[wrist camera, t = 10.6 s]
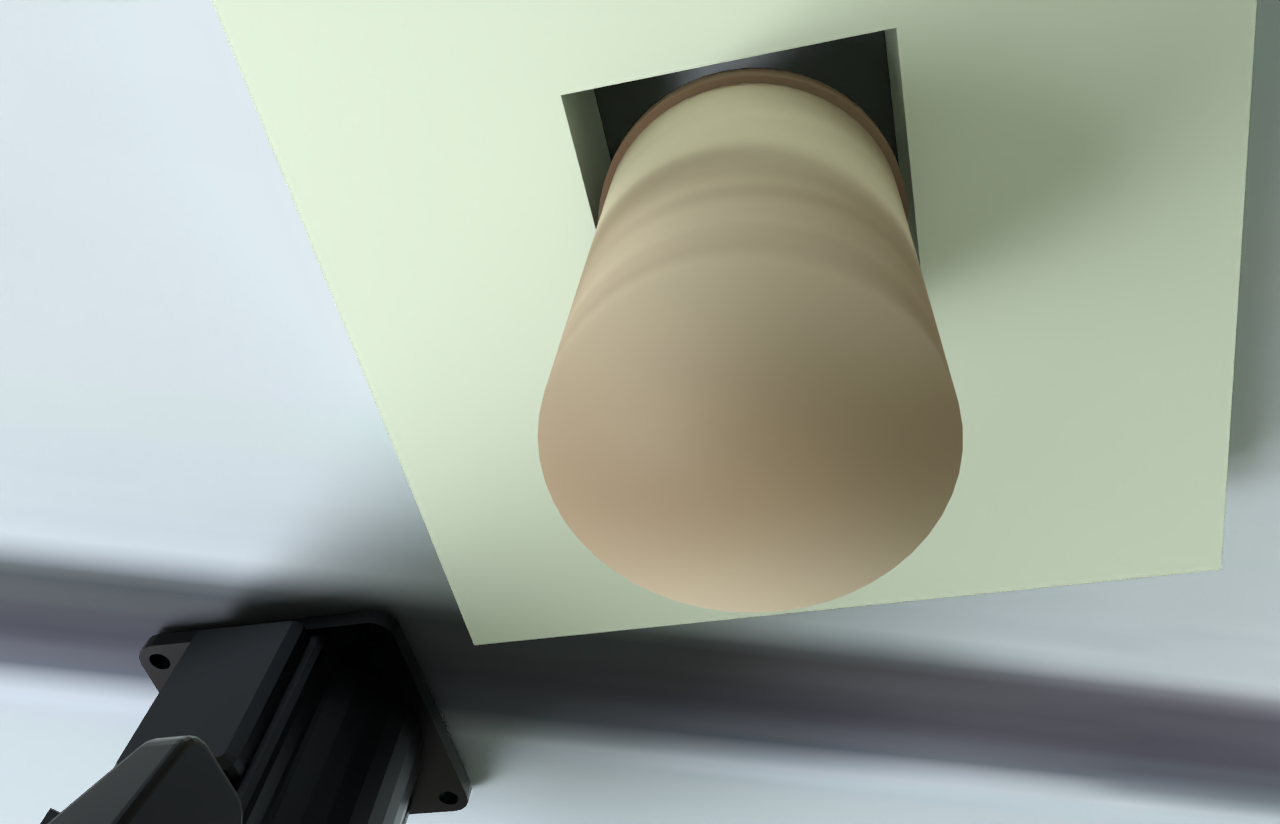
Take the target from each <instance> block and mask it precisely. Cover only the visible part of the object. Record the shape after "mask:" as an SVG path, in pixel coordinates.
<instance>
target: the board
mask: <svg viewBox="0 0 1280 824" xmlns="http://www.w3.org/2000/svg"><path fill="white" fill-rule="evenodd" d="M212 2H213V5H214V7H215V10H216V12H217V15H218V17H219V19H220V22H221V24H222V27H223V29H224V32H225V34H226V37H227V39H228V42H229V44H230V46H231V49H232V51H233V54H234V56H235V59H236V61H237V64H238V66H239V69H240V71H241V73H242V76H243V78H244V81H245V83H246V86H247V88H248V91H249V93H250V96H251V98H252V101H253V103H254V105H255V108H256V110H257V113H258V115H259V118H260V120H261V123H262V125H263V128H264V130H265V132H266V135H267V137H268V140H269V142H270V145H271V147H272V150H273V152H274V155H275V157H276V159H277V162H278V164H279V167H280V169H281V172H282V174H283V177H284V179H285V182H286V184H287V187H288V189H289V191H290V194H291V196H292V199H293V201H294V204H295V206H296V209H297V211H298V214H299V216H300V218H301V221H302V223H303V226H304V228H305V231H306V233H307V236H308V238H309V241H310V243H311V245H312V248H313V250H314V253H315V255H316V258H317V260H318V263H319V265H320V268H321V270H322V273H323V275H324V277H325V280H326V282H327V285H328V287H329V290H330V292H331V295H332V297H333V300H334V302H335V304H336V307H337V309H338V312H339V314H340V317H341V319H342V322H343V324H344V327H345V329H346V331H347V334H348V336H349V339H350V341H351V344H352V346H353V349H354V351H355V354H356V356H357V359H358V361H359V363H360V366H361V368H362V371H363V373H364V376H365V378H366V381H367V383H368V386H369V388H370V390H371V393H372V395H373V398H374V400H375V403H376V405H377V408H378V410H379V413H380V415H381V417H382V420H383V422H384V425H385V427H386V430H387V432H388V435H389V437H390V440H391V442H392V445H393V447H394V449H395V452H396V454H397V457H398V459H399V462H400V464H401V467H402V469H403V472H404V474H405V476H406V479H407V481H408V484H409V486H410V489H411V491H412V494H413V496H414V499H415V501H416V503H417V506H418V508H419V511H420V513H421V516H422V518H423V521H424V523H425V526H426V528H427V531H428V533H429V535H430V538H431V540H432V543H433V545H434V548H435V550H436V553H437V555H438V558H439V560H440V562H441V565H442V567H443V570H444V572H445V575H446V577H447V580H448V582H449V585H450V587H451V589H452V592H453V594H454V597H455V599H456V602H457V604H458V607H459V609H460V612H461V614H462V617H463V619H464V621H465V624H466V626H467V629H468V631H469V634H470V636H471V639H472V641H473V644H474V645H482V644H492V643H501V642H511V641H521V640H531V639H541V638H551V637H561V636H571V635H580V634H590V633H600V632H610V631H620V630H630V629H640V628H650V627H659V626H669V625H679V624H689V623H699V622H709V621H719V620H729V619H738V618H748V617H758V616H768V615H778V614H788V613H798V612H808V611H817V610H827V609H837V608H847V607H857V606H867V605H877V604H887V603H896V602H906V601H916V600H926V599H936V598H946V597H956V596H966V595H975V594H985V593H995V592H1005V591H1015V590H1025V589H1035V588H1045V587H1054V586H1064V585H1074V584H1084V583H1094V582H1104V581H1114V580H1124V579H1133V578H1143V577H1153V576H1163V575H1173V574H1183V573H1193V572H1203V571H1212V570H1221V565H1222V549H1223V533H1224V517H1225V501H1226V485H1227V469H1228V454H1229V438H1230V422H1231V406H1232V390H1233V374H1234V358H1235V342H1236V326H1237V310H1238V294H1239V279H1240V263H1241V247H1242V231H1243V215H1244V199H1245V183H1246V167H1247V151H1248V135H1249V119H1250V104H1251V88H1252V72H1253V56H1254V40H1255V24H1256V8H1257V0H212ZM882 30H885V39H886V49H887V58H888V68H889V77H890V87H891V96H892V105H893V115H894V124H895V134H896V143H897V153H898V162H899V169H900V172H901V175H902V179H903V182H904V186H905V191H906V197H907V202H908V226H909V229H910V233H911V237H912V240H913V244H914V247H915V251H916V254H917V258H918V261H919V265H920V268H921V272H922V275H923V279H924V282H925V286H926V289H927V293H928V297H929V300H930V304H931V307H932V311H933V314H934V318H935V321H936V325H937V328H938V332H939V335H940V339H941V342H942V346H943V349H944V353H945V356H946V360H947V364H948V367H949V371H950V374H951V378H952V381H953V385H954V388H955V392H956V395H957V399H958V402H959V408H960V414H961V420H962V425H963V452H962V459H961V465H960V471H959V475H958V479H957V482H956V485H955V488H954V491H953V494H952V496H951V498H950V500H949V502H948V504H947V506H946V508H945V510H944V512H943V514H942V516H941V518H940V519H939V521H938V522H937V523H936V525H935V526H934V528H933V529H932V531H931V532H930V534H929V535H928V536H927V537H926V538H925V539H924V541H923V542H922V543H921V544H920V545H919V546H918V547H917V548H916V549H915V550H914V551H913V552H912V553H911V554H910V555H909V556H908V557H907V558H905V559H904V560H903V561H902V562H901V563H900V564H898V565H897V566H896V567H895V568H894V569H892V570H890V571H889V572H887V573H886V574H884V575H883V576H881V577H880V578H878V579H877V580H875V581H874V582H872V583H870V584H868V585H866V586H864V587H862V588H860V589H858V590H856V591H854V592H852V593H849V594H847V595H844V596H841V597H839V598H836V599H833V600H831V601H828V602H824V603H820V604H816V605H812V606H808V607H805V608H799V609H792V610H786V611H779V612H760V613H746V612H727V611H720V610H713V609H706V608H701V607H697V606H693V605H689V604H685V603H681V602H678V601H675V600H672V599H669V598H666V597H664V596H661V595H658V594H655V593H653V592H651V591H649V590H647V589H645V588H643V587H641V586H639V585H637V584H635V583H633V582H631V581H630V580H628V579H626V578H625V577H623V576H622V575H620V574H618V573H617V572H615V571H614V570H612V569H611V568H610V567H608V566H607V565H606V564H605V563H603V562H602V561H601V560H600V559H598V558H597V557H596V556H595V555H594V554H593V553H592V552H591V551H590V550H589V549H588V548H587V547H586V546H585V545H584V544H583V543H582V542H581V541H580V540H579V539H578V538H577V537H576V535H575V534H574V533H573V532H572V530H571V529H570V528H569V526H568V525H567V524H566V523H565V521H564V519H563V518H562V516H561V514H560V513H559V511H558V509H557V507H556V506H555V504H554V502H553V500H552V497H551V495H550V493H549V490H548V488H547V485H546V483H545V480H544V476H543V472H542V468H541V464H540V459H539V448H538V422H539V413H540V408H541V404H542V399H543V395H544V391H545V388H546V385H547V382H548V378H549V375H550V372H551V369H552V366H553V363H554V360H555V357H556V353H557V350H558V347H559V344H560V341H561V338H562V335H563V332H564V328H565V325H566V322H567V319H568V316H569V313H570V310H571V307H572V303H573V300H574V297H575V294H576V291H577V288H578V285H579V282H580V278H581V275H582V272H583V269H584V266H585V263H586V260H587V256H588V253H589V250H590V247H591V244H592V241H593V238H594V235H595V231H596V228H597V225H598V215H599V204H600V198H601V193H602V189H603V185H604V181H605V178H606V175H607V172H608V170H609V167H610V164H611V158H610V154H609V150H608V146H607V142H606V138H605V134H604V130H603V126H602V121H601V117H600V113H599V109H598V105H597V101H596V97H595V93H594V88H599V87H604V86H609V85H614V84H619V83H624V82H629V81H634V80H639V79H644V78H649V77H654V76H659V75H664V74H669V73H674V72H679V71H684V70H689V69H694V68H699V67H704V66H709V65H714V64H718V63H723V62H728V61H733V60H738V59H743V58H748V57H753V56H758V55H763V54H768V53H773V52H778V51H783V50H788V49H793V48H798V47H803V46H808V45H813V44H818V43H823V42H828V41H833V40H838V39H843V38H847V37H852V36H857V35H862V34H867V33H872V32H877V31H882Z"/></svg>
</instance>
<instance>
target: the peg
mask: <svg viewBox="0 0 1280 824" xmlns="http://www.w3.org/2000/svg"><path fill="white" fill-rule="evenodd" d="M538 448H539V459H540V464H541V468H542V472H543V476H544V480H545V483H546V485H547V488H548V490H549V493H550V495H551V497H552V500H553V502H554V504H555V506H556V507H557V509H558V511H559V513H560V514H561V516H562V518H563V519H564V521H565V523H566V524H567V525H568V526H569V528H570V529H571V530H572V532H573V533H574V534H575V535H576V537H577V538H578V539H579V540H580V541H581V542H582V543H583V544H584V545H585V546H586V547H587V548H588V549H589V550H590V551H591V552H592V553H593V554H594V555H595V556H596V557H597V558H598V559H600V560H601V561H602V562H603V563H605V564H606V565H607V566H608V567H610V568H611V569H612V570H614V571H615V572H617V573H618V574H620V575H622V576H623V577H625V578H626V579H628V580H630V581H631V582H633V583H635V584H637V585H639V586H641V587H643V588H645V589H647V590H649V591H651V592H653V593H655V594H658V595H661V596H664V597H666V598H669V599H672V600H675V601H678V602H681V603H685V604H689V605H693V606H697V607H701V608H706V609H713V610H720V611H727V612H746V613H760V612H779V611H786V610H792V609H799V608H805V607H808V606H812V605H816V604H820V603H824V602H828V601H831V600H833V599H836V598H839V597H841V596H844V595H847V594H849V593H852V592H854V591H856V590H858V589H860V588H862V587H864V586H866V585H868V584H870V583H872V582H874V581H875V580H877V579H878V578H880V577H881V576H883V575H884V574H886V573H887V572H889V571H890V570H892V569H894V568H895V567H896V566H897V565H898V564H900V563H901V562H902V561H903V560H904V559H905V558H907V557H908V556H909V555H910V554H911V553H912V552H913V551H914V550H915V549H916V548H917V547H918V546H919V545H920V544H921V543H922V542H923V541H924V539H925V538H926V537H927V536H928V535H929V534H930V532H931V531H932V529H933V528H934V526H935V525H936V523H937V522H938V521H939V519H940V518H941V516H942V514H943V512H944V510H945V508H946V506H947V504H948V502H949V500H950V498H951V496H952V494H953V491H954V488H955V485H956V482H957V479H958V475H959V471H960V465H961V459H962V452H963V425H962V420H961V414H960V408H959V402H958V399H957V395H956V392H955V388H954V385H953V381H952V378H951V374H950V371H949V367H948V364H947V360H946V356H945V353H944V349H943V346H942V342H941V339H940V335H939V332H938V328H937V325H936V321H935V318H934V314H933V311H932V307H931V304H930V300H929V297H928V293H927V289H926V286H925V282H924V279H923V275H922V272H921V268H920V265H919V261H918V258H917V254H916V251H915V247H914V244H913V240H912V237H911V233H910V229H909V226H908V202H907V197H906V191H905V186H904V182H903V179H902V175H901V172H900V169H899V166H898V163H897V160H896V157H895V155H894V153H893V151H892V149H891V147H890V145H889V143H888V141H887V139H886V138H885V136H884V135H883V133H882V132H881V131H880V129H879V128H878V126H877V125H876V123H875V122H874V121H873V120H872V119H871V118H870V117H869V116H868V115H867V114H866V113H865V112H864V111H863V109H862V108H860V107H859V106H858V105H857V104H855V103H854V102H853V101H852V100H850V99H849V98H848V97H847V96H845V95H844V94H842V93H841V92H839V91H837V90H835V89H834V88H832V87H830V86H829V85H827V84H825V83H822V82H820V81H818V80H815V79H813V78H810V77H808V76H804V75H801V74H797V73H793V72H790V71H784V70H777V69H769V68H743V69H735V70H728V71H722V72H718V73H715V74H711V75H707V76H703V77H701V78H699V79H696V80H694V81H691V82H689V83H687V84H684V85H682V86H681V87H679V88H677V89H675V90H674V91H672V92H670V93H669V94H667V95H665V96H664V97H663V98H661V99H660V100H659V101H658V102H656V103H655V104H654V105H652V106H651V107H650V108H649V109H648V110H647V111H646V112H645V113H644V114H643V115H642V116H641V117H640V118H639V119H638V120H637V121H636V122H635V123H634V125H633V126H632V127H631V129H630V130H629V131H628V133H627V134H626V135H625V137H624V138H623V140H622V142H621V143H620V145H619V147H618V149H617V151H616V153H615V154H614V157H613V159H612V162H611V164H610V167H609V170H608V172H607V175H606V178H605V181H604V185H603V189H602V193H601V198H600V204H599V215H598V225H597V228H596V231H595V235H594V238H593V241H592V244H591V247H590V250H589V253H588V256H587V260H586V263H585V266H584V269H583V272H582V275H581V278H580V282H579V285H578V288H577V291H576V294H575V297H574V300H573V303H572V307H571V310H570V313H569V316H568V319H567V322H566V325H565V328H564V332H563V335H562V338H561V341H560V344H559V347H558V350H557V353H556V357H555V360H554V363H553V366H552V369H551V372H550V375H549V378H548V382H547V385H546V388H545V391H544V395H543V399H542V404H541V408H540V413H539V422H538Z"/></svg>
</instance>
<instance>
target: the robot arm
mask: <svg viewBox="0 0 1280 824" xmlns="http://www.w3.org/2000/svg"><path fill="white" fill-rule="evenodd" d="M372 631H376V632H378V633H380V634H382V635H377V634H375V633H373V632H372ZM139 659H140V662H141V664H142V666H143V667H144V669H145V670H146V672H147V674H148V675H149V677H150V678H151V680H152V682H153V683H154V685H155V686H156V688H157V690H158V691H159V694H158V696H157V697H156V699H155V701H154V702H153V704H152V706H151V707H150V709H149V710H148V712H147V714H146V715H145V717H144V719H143V720H142V722H141V723H140V725H139V727H138V728H137V730H136V732H135V733H134V735H133V736H132V738H131V740H130V741H129V743H128V745H127V746H126V748H125V750H124V751H123V753H122V754H121V756H120V758H119V759H118V761H117V763H116V764H115V766H114V768H113V769H112V770H111V771H110V772H108V773H107V774H106V775H105V776H104V777H103V778H101V779H100V780H99V781H98V782H97V783H95V784H94V785H93V786H92V787H91V788H89V789H88V790H87V791H86V792H85V793H83V794H82V795H81V796H80V797H79V798H78V799H76V800H75V801H74V802H73V803H72V804H70V805H69V806H68V807H67V808H66V809H64V810H63V811H62V812H61V813H60V812H58V811H56V810H54V809H52V808H50V810H49V811H48V813H47V814H46V816H45V817H44V819H43V820H42V822H41V823H40V824H406V821H407V818H408V815H409V814H418V813H432V812H446V811H456V810H461V809H463V808H464V807H466V805H467V803H468V800H469V796H470V793H471V789H472V788H471V783H470V781H469V779H468V776H467V774H466V772H465V770H464V768H463V765H462V763H461V761H460V759H459V756H458V754H457V752H456V750H455V748H454V745H453V743H452V741H451V739H450V736H449V734H448V732H447V730H446V727H445V725H444V723H443V721H442V719H441V716H440V714H439V712H438V710H437V707H436V705H435V703H434V701H433V698H432V696H431V694H430V692H429V690H428V687H427V685H426V683H425V681H424V678H423V676H422V674H421V672H420V669H419V667H418V665H417V663H416V661H415V658H414V656H413V654H412V652H411V649H410V647H409V645H408V643H407V640H406V638H405V636H404V634H403V632H402V629H401V627H400V625H399V623H398V622H397V621H396V619H395V618H393V617H392V616H390V615H389V614H387V613H384V612H381V611H366V612H357V613H348V614H339V615H330V616H321V617H311V618H302V619H293V620H284V621H275V622H266V623H257V624H248V625H239V626H229V627H220V628H211V629H202V630H193V631H184V632H175V633H166V634H158V635H154V636H152V637H151V638H150V639H149V640H148V641H147V642H146V644H145V645H144V647H143V648H142V650H141V651H140V655H139Z"/></svg>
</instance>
